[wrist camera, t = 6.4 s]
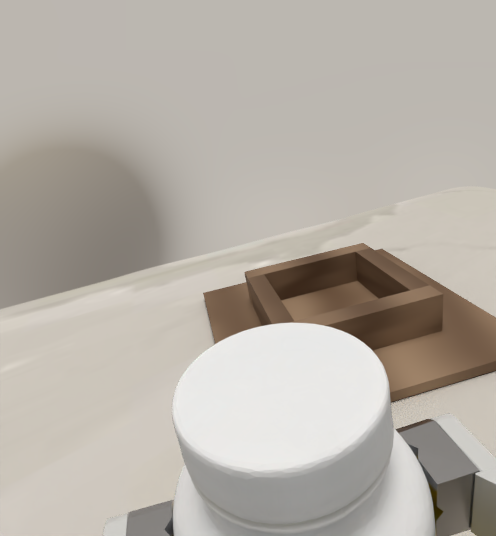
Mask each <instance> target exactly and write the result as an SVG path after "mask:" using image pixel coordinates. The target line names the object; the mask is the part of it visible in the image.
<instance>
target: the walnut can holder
mask: <svg viewBox="0 0 496 536" xmlns="http://www.w3.org/2000/svg"><path fill="white" fill-rule="evenodd" d="M245 277H246V283H242V284H238V285H234V286H230V287H226V288H222V289H218V290H214V291H210V292H206V293H203V294H204V298H205V302H206V307H207V311H208V315H209V319H210V323H211V327H212V332H213V336H214V340H215V344H216V343H218V342H220V341H222V340H224V339H226V338H228V337H230V336H232V335H235V334H237V333H240V332H242V331H245V330H248V329H252V328H256V327H260V326H265V325H271V324H279V323H310V324H318V325H323V326H328V327H332V328H335V329H338V330H341V331H344V332H346V333H348V334H350V335H352V336H354V337H356V338H357V339H359V340H360V341H362V342H363V343H365V344H366V345H367V346H368V347H369V348H370V349H371V350H372V351H373V352H374V353H375V354H376V355H377V357H378V358H379V360H380V361H381V363H382V364H383V366H384V369H385V371H386V374H387V377H388V381H389V389H390V400H391V402H393V401H396V400H399V399H403V398H406V397H409V396H413V395H416V394H419V393H423V392H426V391H429V390H433V389H436V388H439V387H443V386H446V385H449V384H453V383H456V382H459V381H463V380H466V379H469V378H473V377H476V376H479V375H483V374H486V373H489V372H493V371H496V318H495V317H494V316H492V315H490V314H489V313H487V312H485V311H484V310H482V309H481V308H479V307H477V306H476V305H474V304H472V303H471V302H469V301H467V300H466V299H464V298H462V297H461V296H459V295H457V294H456V293H454V292H452V291H451V290H449V289H447V288H446V287H444V286H443V285H441V284H439V283H438V282H436V281H434V280H433V279H431V278H429V277H428V276H426V275H424V274H423V273H421V272H419V271H418V270H416V269H414V268H413V267H411V266H409V265H408V264H406V263H405V262H403V261H401V260H400V259H398V258H396V257H395V256H393V255H391V254H390V253H388V252H386V251H385V250H383V249H379V250H373V249H372V248H370V247H368V246H367V245H365V244H364V243H361V244H357V245H353V246H349V247H345V248H341V249H337V250H333V251H328V252H324V253H320V254H316V255H312V256H308V257H304V258H300V259H296V260H292V261H288V262H283V263H279V264H275V265H271V266H267V267H263V268H259V269H255V270H251V271H247V272H245Z"/></svg>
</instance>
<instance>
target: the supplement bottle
mask: <svg viewBox="0 0 496 536" xmlns="http://www.w3.org/2000/svg"><path fill="white" fill-rule="evenodd" d="M172 419H173V424H174V428H175V431H176V434H177V438H178V441H179V445H180V448H181V452H182V456H183V459H184V462H185V465H184V467H183V469H182V471H181V474H180V476H179V480H178V484H177V487H176V492H175V498H174V506H173V531H174V536H436V528H435V518H434V509H433V501H432V496H431V492H430V489H429V485H428V482H427V479H426V477H425V474H424V472H423V469H422V467H421V465H420V463H419V462H418V460H417V458H416V456H415V454H414V453H413V451H412V450H411V448H410V447H409V446H408V444H407V443H406V442H405V441H404V439H403V438H402V437H401V435H400V434H399V433H398V432H397V431H396V430H395V429H394V426H393V420H392V411H391V400H390V389H389V381H388V377H387V374H386V371H385V369H384V366H383V364H382V363H381V361H380V360H379V358H378V357H377V355H376V354H375V353H374V352H373V351H372V350H371V349H370V348H369V347H368V346H367V345H366V344H365V343H363V342H362V341H360V340H359V339H357V338H356V337H354V336H352V335H350V334H348V333H346V332H344V331H341V330H338V329H335V328H332V327H328V326H323V325H318V324H310V323H279V324H271V325H265V326H260V327H256V328H252V329H248V330H245V331H242V332H240V333H237V334H235V335H232V336H230V337H228V338H226V339H224V340H222V341H220V342H218V343H216V344H215V345H213V346H212V347H210V348H209V349H207V350H206V351H204V352H203V353H202V354H201V355H200V356H199V357H198V358H196V359H195V360H194V361H193V362H192V363H191V365H190V366H189V367H188V368H187V370H186V371H185V372H184V374H183V375H182V377H181V379H180V381H179V383H178V385H177V387H176V389H175V393H174V396H173V402H172Z"/></svg>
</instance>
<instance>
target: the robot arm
mask: <svg viewBox="0 0 496 536" xmlns="http://www.w3.org/2000/svg"><path fill="white" fill-rule="evenodd" d="M396 431H397V432H398V433H399V434H400V435H401V437H402V438H403V439H404V441H405V442H406V443H407V444H408V446H409V447H410V448H411V450H412V451H413V453H414V454H415V456H416V458H417V460H418V462H419V463H420V465H421V467H422V469H423V472H424V474H425V477H426V479H427V482H428V485H429V489H430V492H431V496H432V501H433V509H434V518H435V528H436V536H451V535H454V534H457V533H461V532H464V531H467V530H470V529H471V532H472V533H474V534H475V535H477V536H496V457H495V456H494V455H493V454H492V453H491V452H490V451H489V450H488V449H487V448H486V447H485V446H484V445H483V444H482V443H481V442H480V441H479V440H478V439H477V438H476V437H475V436H474V435H473V434H472V433H471V432H470V431H469V430H468V429H467V428H466V427H465V426H464V425H463V424H462V423H461V422H460V421H459V420H458V419H457V418H456V417H455V416H454V415H452V414H450V413H447V414H444V415H441V416H437V417H434V418H431V419H426V420H423V421H420V422H417V423H414V424H411V425H408V426H405V427H402V428H399V429H396ZM173 506H174V500H171V501H167V502H164V503H160V504H156V505H153V506H149V507H146V508H142V509H139V510H135V511H132V512H128V513H125V514H122V515H118V516H115V517H112V518H108V519H107V521H106V523H105V526H104V529H103V536H174V531H173Z"/></svg>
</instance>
